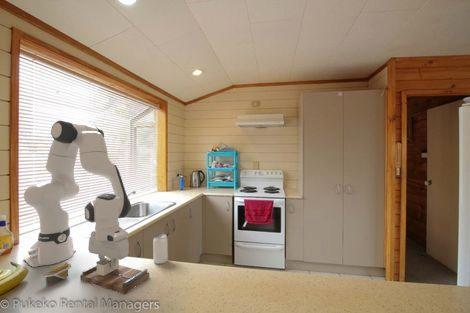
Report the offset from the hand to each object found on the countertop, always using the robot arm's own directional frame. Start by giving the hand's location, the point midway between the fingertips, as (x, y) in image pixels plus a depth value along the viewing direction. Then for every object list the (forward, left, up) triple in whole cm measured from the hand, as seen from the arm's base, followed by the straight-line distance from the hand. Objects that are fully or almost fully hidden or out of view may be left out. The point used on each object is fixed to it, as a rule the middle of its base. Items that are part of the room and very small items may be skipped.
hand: (108, 265), depth 92 cm
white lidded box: (0, 0, -2) cm, 2 cm away
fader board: (+4, 0, -5) cm, 6 cm away
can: (+11, +19, -5) cm, 22 cm away
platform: (-16, -10, -5) cm, 20 cm away
